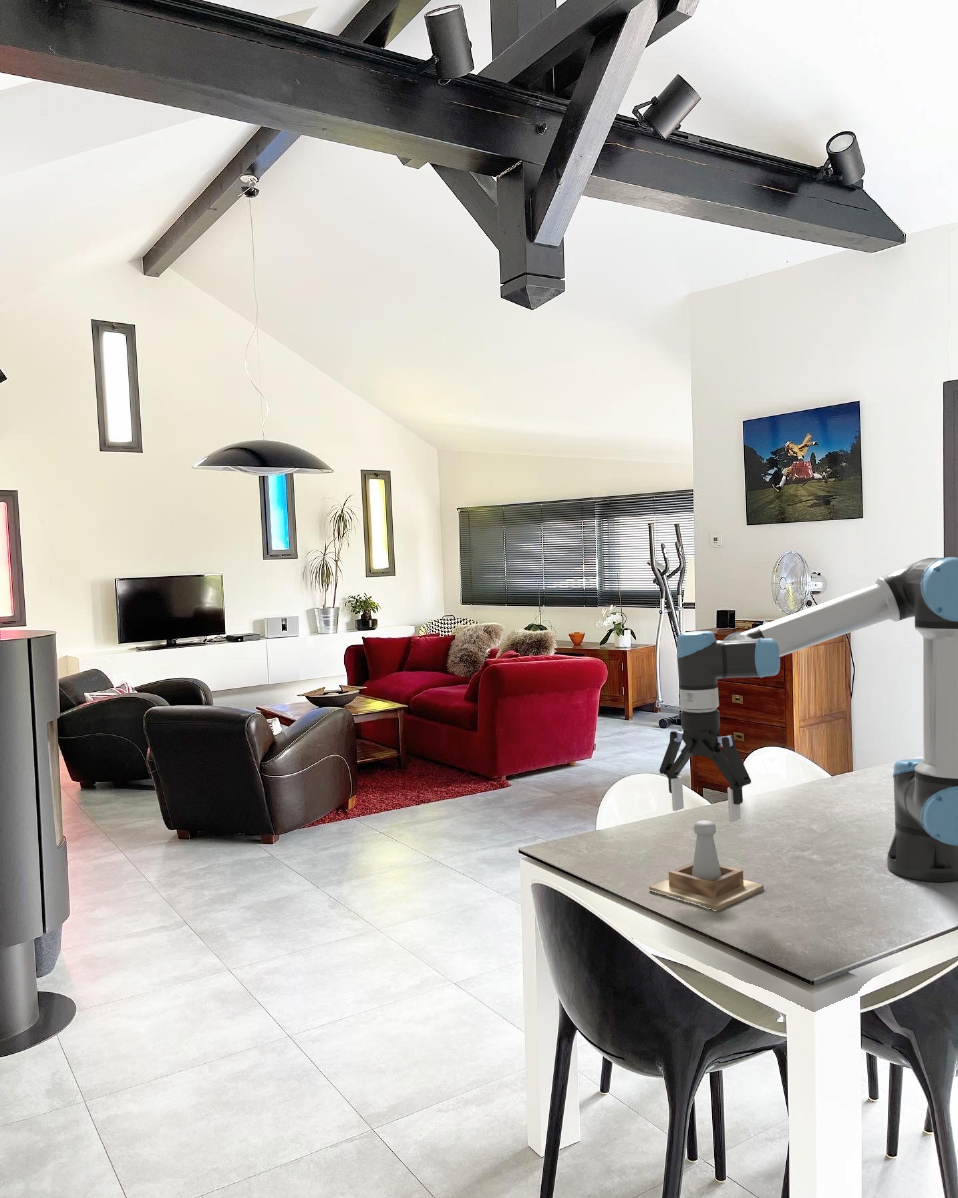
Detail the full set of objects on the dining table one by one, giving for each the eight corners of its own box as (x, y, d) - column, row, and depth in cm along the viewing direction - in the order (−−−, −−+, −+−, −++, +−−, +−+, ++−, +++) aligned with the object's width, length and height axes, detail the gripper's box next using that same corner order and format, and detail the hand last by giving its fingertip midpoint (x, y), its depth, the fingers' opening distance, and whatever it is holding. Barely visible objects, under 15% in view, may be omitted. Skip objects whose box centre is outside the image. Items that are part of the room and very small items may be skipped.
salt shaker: (700, 879, 190) (698, 816, 190) (726, 884, 186) (724, 820, 186) (687, 887, 186) (684, 823, 185) (713, 893, 182) (711, 827, 182)
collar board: (763, 889, 185) (763, 870, 185) (716, 911, 175) (715, 890, 175) (697, 872, 197) (696, 853, 197) (649, 891, 187) (648, 872, 187)
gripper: (638, 707, 192) (644, 809, 193) (742, 716, 173) (749, 829, 174) (661, 702, 197) (667, 801, 198) (765, 710, 178) (771, 820, 179)
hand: (705, 814), depth 186 cm, fingers open, 13 cm apart
